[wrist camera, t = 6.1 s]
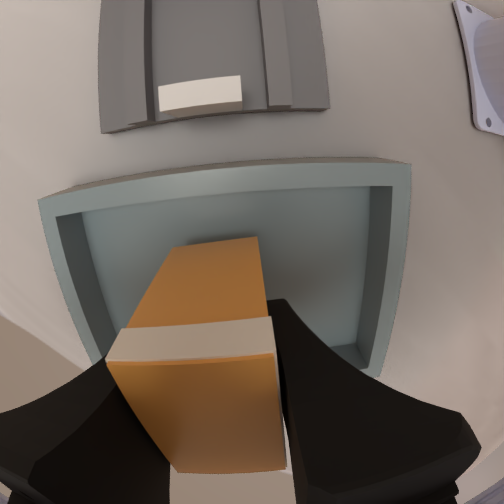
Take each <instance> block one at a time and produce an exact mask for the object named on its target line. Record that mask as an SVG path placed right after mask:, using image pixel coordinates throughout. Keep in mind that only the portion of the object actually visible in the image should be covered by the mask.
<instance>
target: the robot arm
mask: <svg viewBox="0 0 504 504" xmlns="http://www.w3.org/2000/svg"><path fill="white" fill-rule="evenodd" d="M453 5H454V9H455V12H456V16H457V19H458V23H459V27H460V31H461V35H462V39H463V44H464V49H465V54H466V60H467V65H468V72H469V79H470V86H471V95H472V106H473V120H474V124H475V126H476V128H477V129H479V130H482V131H486V132H490V133H494V134H498V135H501V136H504V16H502V17H499V18H493V17H492V16H490V15H488V14H486V13H485V12H483V11H481V10H479V9H477V8H475V7H474V6H472V5H470V4H468V3H466V2H464V1H462V0H455V1H454V2H453ZM486 121H487V124H486ZM266 302H267V310H268V316H271V319H272V325H273V332H274V339H275V345H276V353H277V363H278V373H279V383H280V394H281V404H282V413H283V417H284V421H285V425H286V430H287V435H288V440H289V448H290V456H291V464H292V472H293V480H294V487H295V496H296V504H457V502H456V499H455V497H454V496H456V495H457V494H458V493H459V490H458V487H457V485H456V483H455V480H456V479H457V478H459V477H460V476H461V475H462V474H463V473H464V472H465V471H466V470H467V469H468V468H469V467H470V466H471V464H472V463H473V462H474V461H475V460H476V459H477V457H478V455H479V453H480V450H481V445H480V443H479V442H478V440H477V438H476V436H475V434H474V432H473V430H472V429H471V427H470V425H469V424H468V423H467V421H466V420H465V418H464V417H463V416H462V414H461V413H459V412H456V411H452V410H449V409H445V408H442V407H439V406H435V405H432V404H429V403H426V402H423V401H420V400H417V399H415V398H413V397H410V396H408V395H405V394H403V393H401V392H398V391H396V390H394V389H392V388H390V387H388V386H386V385H385V384H383V383H381V382H379V381H377V380H375V379H373V378H372V377H370V376H368V375H366V374H365V373H363V372H362V371H360V370H359V369H357V368H356V367H354V366H353V365H351V364H350V363H349V362H347V361H346V360H344V359H343V358H342V357H340V356H339V355H338V354H337V353H336V352H334V351H333V350H332V349H331V348H330V347H328V346H327V345H326V344H325V343H324V342H323V341H322V340H321V339H320V338H319V337H318V336H317V335H316V334H315V333H314V332H313V331H312V330H311V329H310V328H309V327H308V326H307V325H306V324H305V323H304V322H303V321H302V320H301V318H300V317H299V316H298V315H297V314H296V312H295V311H294V310H293V309H292V307H291V306H290V304H289V303H288V301H287V300H285V299H284V298H281V299H274V300H266ZM107 354H108V353H107ZM107 354H106V355H105V356H104V357H103V358H101V359H100V360H99V361H98V362H97V363H95V364H94V365H93V366H91V367H90V368H89V369H87V370H86V371H85V372H83V373H82V374H80V375H79V376H77V377H76V378H74V379H73V380H71V381H70V382H68V383H66V384H65V385H63V386H61V387H59V388H57V389H56V390H54V391H52V392H50V393H49V394H47V395H45V396H43V397H41V398H39V399H37V400H35V401H32V402H30V403H28V404H25V405H23V406H21V407H18V408H15V409H13V410H10V411H6V412H3V413H0V482H2V483H3V484H4V485H5V486H7V487H8V488H10V490H12V492H11V495H10V497H9V498H8V497H6V496H5V495H3V494H1V493H0V504H170V502H169V501H170V499H169V486H170V485H169V484H170V462H169V461H168V460H167V458H166V457H165V456H164V454H163V453H162V452H161V450H160V449H159V448H158V446H157V445H156V444H155V442H154V441H153V439H152V438H151V437H150V435H149V434H148V432H147V431H146V430H145V428H144V427H143V425H142V424H141V422H140V421H139V419H138V418H137V416H136V415H135V413H134V411H133V410H132V408H131V407H130V405H129V403H128V402H127V400H126V399H125V397H124V395H123V394H122V392H121V390H120V388H119V387H118V385H117V383H116V381H115V380H114V378H113V376H112V374H111V372H110V371H109V369H108V367H107V365H106V364H107V362H106V360H105V358H106V356H107ZM464 504H504V478H502V479H501V480H500V481H498V482H497V483H495V484H494V485H493V486H491V487H490V488H488V489H487V490H485V491H484V492H482V493H481V494H479V495H477V496H476V497H474V498H472V499H471V500H469V501H467V502H466V503H464Z"/></svg>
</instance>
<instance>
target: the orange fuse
mask: <svg viewBox="0 0 504 504" xmlns="http://www.w3.org/2000/svg"><path fill="white" fill-rule="evenodd" d="M105 360H106V362H107V364H106V365H107V367H108V369H109V371H110V372H111V374H112V376H113V378H114V380H115V381H116V383H117V385H118V387H119V388H120V390H121V392H122V394H123V395H124V397H125V399H126V400H127V402H128V403H129V405H130V407H131V408H132V410H133V411H134V413H135V415H136V416H137V418H138V419H139V421H140V422H141V424H142V425H143V427H144V428H145V430H146V431H147V432H148V434H149V435H150V437H151V438H152V439H153V441H154V442H155V444H156V445H157V446H158V448H159V449H160V450H161V452H162V453H163V454H164V456H165V457H166V458H167V460H168V461H169V462H170V463H171V464H172V466H173V467H174V468H175V470H176V471H177V472H178V473H199V474H230V473H231V474H232V473H253V472H265V471H276V470H284V469H286V468H285V467H287V459H286V448H285V437H284V426H283V415H282V404H281V394H280V383H279V373H278V363H277V353H276V345H275V339H274V332H273V325H272V319H271V316H268V310H267V302H266V295H265V288H264V281H263V273H262V266H261V259H260V252H259V245H258V238H257V236H256V237H248V238H240V239H232V240H224V241H217V242H209V243H201V244H194V245H186V246H179V247H173V248H172V249H171V251H170V253H169V254H168V256H167V258H166V259H165V261H164V262H163V264H162V266H161V267H160V269H159V271H158V272H157V274H156V276H155V277H154V279H153V281H152V282H151V284H150V286H149V288H148V289H147V291H146V293H145V294H144V296H143V298H142V300H141V301H140V303H139V305H138V307H137V308H136V310H135V312H134V314H133V316H132V317H131V319H130V321H129V323H128V325H127V326H126V328H122V329H121V330H120V332H119V334H118V336H117V338H116V339H115V341H114V343H113V345H112V347H111V349H110V351H109V352H108V354H107V356H106V358H105Z"/></svg>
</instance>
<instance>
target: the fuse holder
mask: <svg viewBox="0 0 504 504" xmlns="http://www.w3.org/2000/svg"><path fill="white" fill-rule="evenodd" d="M98 93H99V113H100V127H101V134H112V133H116V132H121V131H125V130H130V129H134V128H139V127H144V126H149V125H155V124H160V123H166V122H172V121H178V120H185V119H192V118H200V117H208V116H217V115H227V114H238V113H252V112H270V111H324V110H327V109H330V102H329V90H328V79H327V69H326V60H325V52H324V44H323V36H322V29H321V22H320V16H319V10H318V4H317V0H102V1H101V11H100V24H99V43H98Z"/></svg>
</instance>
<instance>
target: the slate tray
mask: <svg viewBox="0 0 504 504" xmlns="http://www.w3.org/2000/svg"><path fill="white" fill-rule="evenodd" d="M410 197H411V164H408V163H403V162H398V161H393V160H388V159H382V158H364V157H318V158H287V159H267V160H252V161H239V162H228V163H217V164H208V165H199V166H190V167H182V168H174V169H167V170H160V171H154V172H147V173H141V174H135V175H129V176H123V177H118V178H113V179H107V180H102V181H97V182H92V183H88V184H83V185H78V186H74V187H71V188H68V189H65V190H62V191H60V192H57V193H54V194H52V195H49V196H46V197H44V198H41V199H39V200H38V205H39V210H40V215H41V220H42V224H43V228H44V233H45V237H46V241H47V244H48V248H49V252H50V255H51V259H52V262H53V266H54V269H55V272H56V275H57V278H58V281H59V284H60V287H61V290H62V293H63V296H64V299H65V301H66V304H67V307H68V309H69V312H70V314H71V317H72V319H73V322H74V324H75V327H76V329H77V332H78V334H79V336H80V338H81V341H82V343H83V345H84V347H85V349H86V352H87V354H88V356H89V358H90V360H91V362H92V364H93V365H94V364H95V363H97V362H98V361H99V360H100V359H101V358H103V357H104V356H105V355H106V354H107V353H108V352H109V351H110V349H111V347H112V345H113V343H114V341H115V339H116V338H117V336H118V334H119V332H120V330H121V329H122V328H126V326H127V325H128V323H129V321H130V319H131V317H132V316H133V314H134V312H135V310H136V308H137V307H138V305H139V303H140V301H141V300H142V298H143V296H144V294H145V293H146V291H147V289H148V288H149V286H150V284H151V282H152V281H153V279H154V277H155V276H156V274H157V272H158V271H159V269H160V267H161V266H162V264H163V262H164V261H165V259H166V258H167V256H168V254H169V253H170V251H171V249H172V248H173V247H179V246H186V245H194V244H201V243H209V242H217V241H224V240H232V239H240V238H248V237H256V236H257V238H258V245H259V252H260V259H261V266H262V273H263V281H264V288H265V295H266V300H274V299H281V298H284V299H285V300H287V301H288V303H289V304H290V306H291V307H292V309H293V310H294V311H295V312H296V314H297V315H298V316H299V317H300V318H301V320H302V321H303V322H304V323H305V324H306V325H307V326H308V327H309V328H310V329H311V330H312V331H313V332H314V333H315V334H316V335H317V336H318V337H319V338H320V339H321V340H322V341H323V342H324V343H325V344H326V345H327V346H328V347H330V348H331V349H332V350H333V351H334V352H336V353H337V354H338V355H339V356H340V357H342V358H343V359H344V360H346V361H347V362H349V363H350V364H351V365H353V366H354V367H356V368H357V369H359V370H360V371H362V372H363V373H365V374H366V375H368V376H370V377H372V378H374V377H379V376H380V374H381V370H382V367H383V363H384V359H385V356H386V352H387V348H388V344H389V340H390V336H391V332H392V327H393V323H394V318H395V313H396V308H397V303H398V298H399V293H400V287H401V281H402V274H403V268H404V261H405V253H406V245H407V236H408V225H409V213H410Z"/></svg>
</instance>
